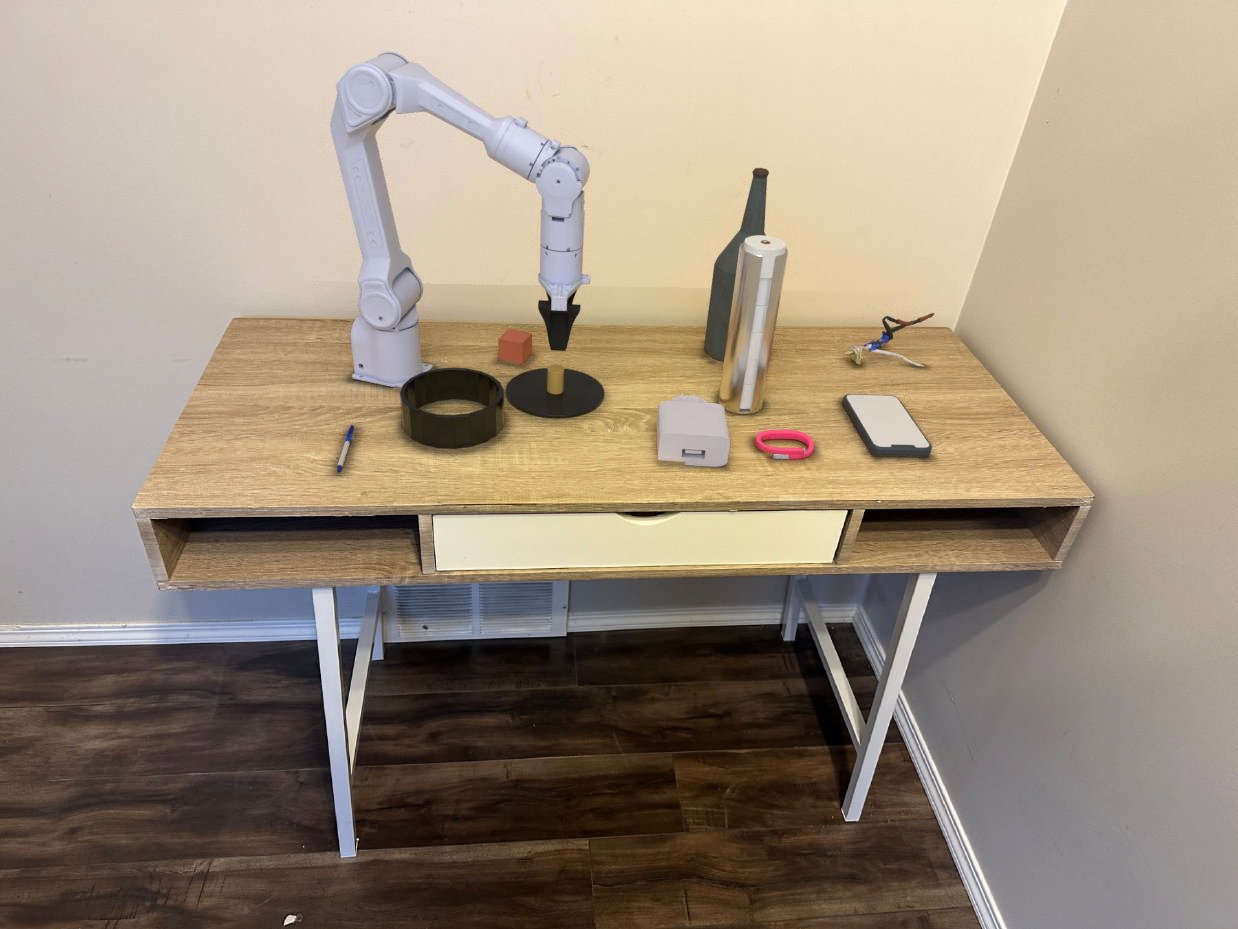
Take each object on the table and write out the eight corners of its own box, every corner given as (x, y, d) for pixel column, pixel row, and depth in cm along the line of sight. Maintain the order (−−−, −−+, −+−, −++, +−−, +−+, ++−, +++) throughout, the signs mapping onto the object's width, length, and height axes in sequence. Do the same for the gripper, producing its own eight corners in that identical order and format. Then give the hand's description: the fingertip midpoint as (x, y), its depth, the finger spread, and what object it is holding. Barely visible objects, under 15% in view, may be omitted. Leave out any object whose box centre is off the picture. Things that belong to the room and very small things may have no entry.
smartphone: (838, 402, 137) (870, 458, 124) (840, 393, 136) (873, 448, 123) (895, 403, 138) (933, 459, 124) (897, 394, 137) (936, 449, 123)
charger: (717, 411, 132) (726, 467, 119) (654, 407, 132) (657, 463, 119) (721, 382, 129) (731, 437, 117) (657, 378, 129) (660, 433, 117)
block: (498, 361, 141) (498, 338, 139) (508, 351, 144) (508, 328, 142) (522, 366, 140) (522, 343, 138) (531, 355, 143) (532, 332, 141)
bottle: (775, 352, 149) (807, 169, 133) (749, 374, 142) (780, 183, 126) (719, 335, 154) (744, 155, 137) (692, 355, 147) (714, 168, 130)
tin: (384, 439, 120) (381, 404, 117) (431, 393, 131) (429, 360, 128) (478, 461, 117) (477, 425, 114) (518, 412, 128) (518, 378, 125)
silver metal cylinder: (767, 399, 136) (795, 238, 122) (754, 418, 131) (781, 252, 117) (726, 389, 138) (749, 229, 124) (712, 407, 133) (734, 242, 119)
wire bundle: (825, 389, 154) (925, 347, 157) (851, 398, 146) (956, 353, 149) (810, 332, 151) (913, 291, 154) (835, 338, 143) (943, 294, 146)
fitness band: (759, 459, 122) (760, 449, 121) (750, 436, 127) (752, 427, 126) (817, 460, 122) (819, 450, 122) (807, 437, 127) (809, 428, 126)
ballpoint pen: (348, 429, 122) (347, 422, 121) (355, 429, 122) (354, 422, 121) (336, 473, 113) (335, 466, 112) (343, 472, 113) (342, 466, 113)
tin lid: (489, 409, 128) (489, 380, 126) (527, 366, 140) (527, 339, 137) (585, 430, 125) (587, 401, 123) (616, 384, 137) (618, 356, 134)
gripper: (591, 266, 114) (587, 362, 121) (591, 227, 126) (587, 317, 133) (535, 263, 114) (534, 359, 121) (541, 224, 126) (539, 315, 133)
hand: (559, 337), depth 127 cm, fingers open, 7 cm apart
